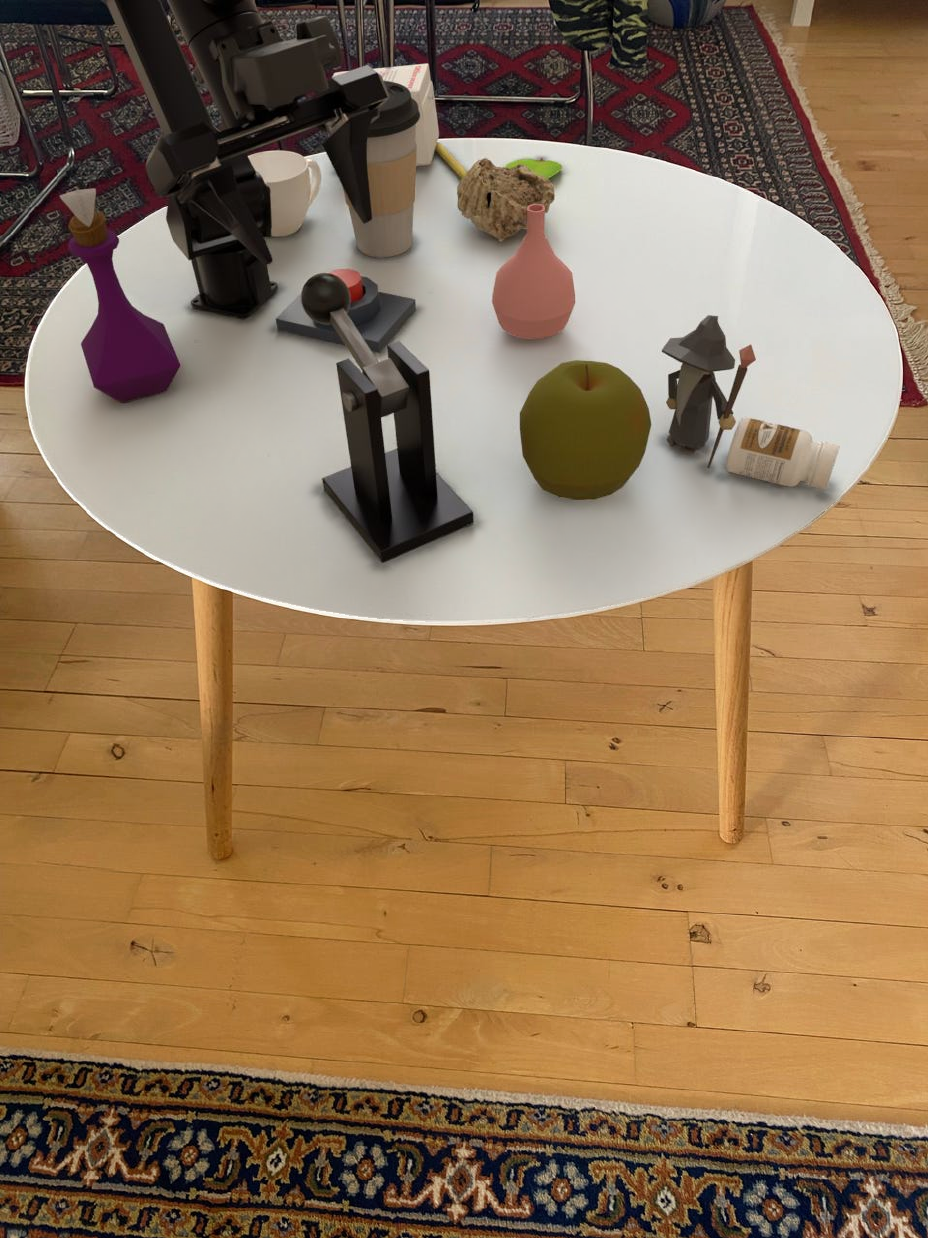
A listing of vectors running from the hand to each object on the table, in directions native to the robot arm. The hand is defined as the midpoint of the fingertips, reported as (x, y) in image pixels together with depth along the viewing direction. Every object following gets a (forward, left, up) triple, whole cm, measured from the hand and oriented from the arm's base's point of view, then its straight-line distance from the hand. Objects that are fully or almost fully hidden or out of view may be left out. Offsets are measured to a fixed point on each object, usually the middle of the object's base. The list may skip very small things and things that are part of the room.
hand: (319, 242), depth 77 cm
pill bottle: (+34, +3, -12) cm, 36 cm away
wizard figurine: (+31, +4, -14) cm, 34 cm away
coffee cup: (-9, +26, -15) cm, 31 cm away
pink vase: (+12, +16, -15) cm, 25 cm away
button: (-6, +11, -12) cm, 17 cm away
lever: (+7, -8, -4) cm, 11 cm away
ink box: (-24, +43, -10) cm, 50 cm away
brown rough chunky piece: (+2, +34, -14) cm, 37 cm away
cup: (-21, +26, -15) cm, 37 cm away
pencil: (-10, +45, -13) cm, 48 cm away
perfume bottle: (-18, -5, -15) cm, 24 cm away
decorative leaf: (+1, +47, -16) cm, 50 cm away
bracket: (+11, -11, -14) cm, 21 cm away
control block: (-6, +11, -14) cm, 19 cm away
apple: (+23, -3, -15) cm, 28 cm away
